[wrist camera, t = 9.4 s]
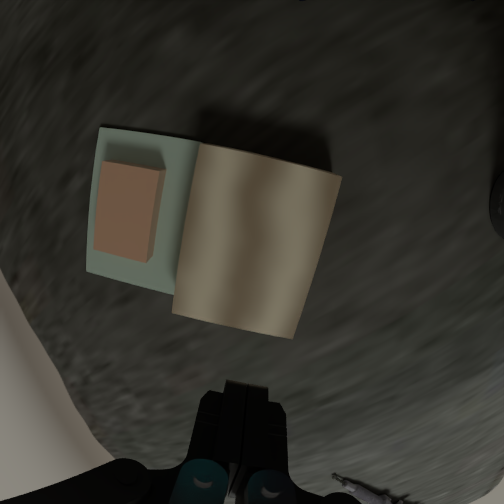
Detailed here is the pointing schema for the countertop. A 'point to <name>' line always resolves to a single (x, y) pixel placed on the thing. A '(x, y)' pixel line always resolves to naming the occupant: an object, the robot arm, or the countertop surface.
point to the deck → (252, 239)
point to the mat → (171, 208)
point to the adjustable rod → (365, 493)
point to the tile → (128, 209)
